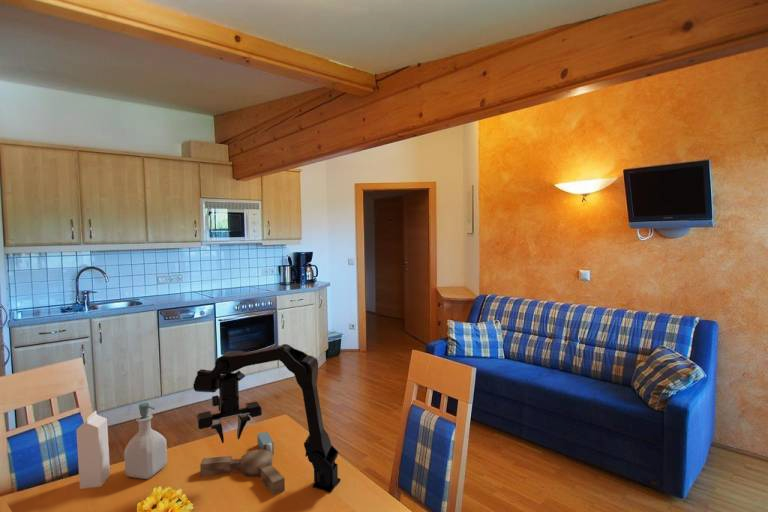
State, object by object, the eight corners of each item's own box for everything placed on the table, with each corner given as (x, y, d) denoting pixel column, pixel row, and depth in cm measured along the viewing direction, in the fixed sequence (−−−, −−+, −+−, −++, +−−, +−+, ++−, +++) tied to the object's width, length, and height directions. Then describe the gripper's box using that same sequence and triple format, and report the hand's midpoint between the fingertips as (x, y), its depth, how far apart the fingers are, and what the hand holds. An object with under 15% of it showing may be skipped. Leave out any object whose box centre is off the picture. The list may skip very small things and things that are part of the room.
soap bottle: (148, 482, 128) (145, 411, 127) (122, 478, 130) (118, 409, 129) (170, 464, 138) (167, 398, 136) (145, 461, 140) (142, 396, 138)
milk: (79, 489, 125) (74, 419, 123) (89, 477, 131) (85, 410, 129) (101, 486, 126) (97, 417, 125) (110, 475, 132) (106, 408, 131)
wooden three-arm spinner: (305, 469, 134) (305, 458, 134) (276, 498, 120) (276, 485, 120) (231, 450, 146) (230, 440, 146) (196, 475, 132) (195, 463, 132)
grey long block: (275, 456, 142) (274, 444, 142) (265, 459, 141) (264, 446, 140) (267, 442, 152) (267, 430, 152) (257, 444, 150) (257, 433, 150)
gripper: (253, 379, 141) (255, 423, 142) (194, 389, 131) (195, 437, 132) (261, 390, 131) (262, 437, 132) (197, 402, 122) (199, 453, 123)
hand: (230, 440), depth 130 cm, fingers open, 4 cm apart
